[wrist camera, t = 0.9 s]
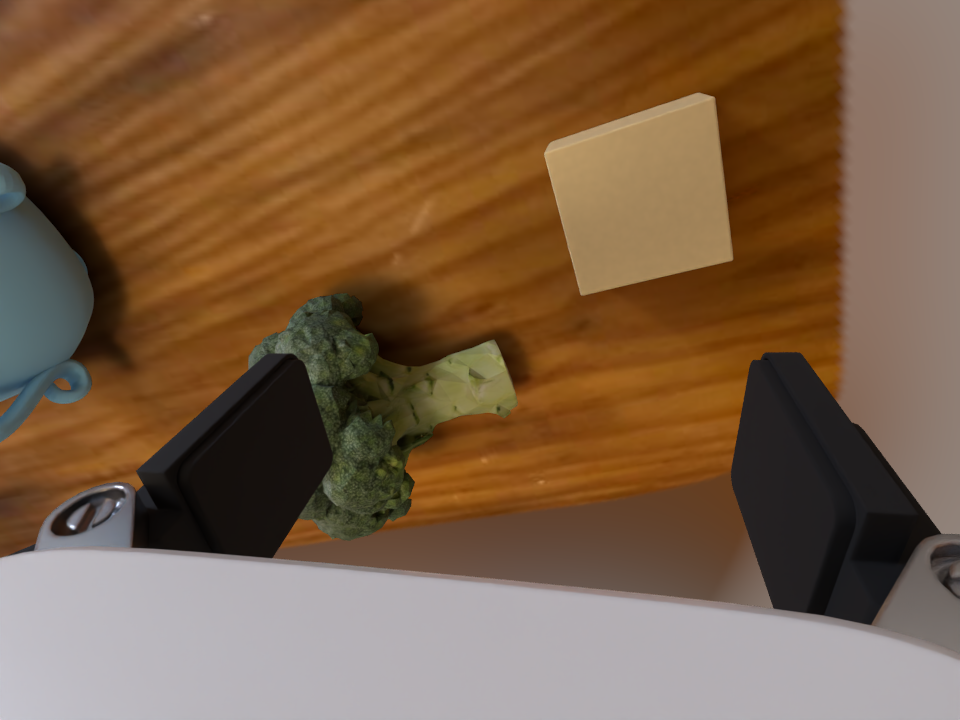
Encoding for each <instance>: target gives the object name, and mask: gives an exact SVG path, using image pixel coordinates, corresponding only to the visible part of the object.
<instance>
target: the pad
mask: <svg viewBox="0 0 960 720" xmlns="http://www.w3.org/2000/svg"><path fill="white" fill-rule="evenodd" d="M544 156H545V160H546V164H547V167H548V171H549V175H550V179H551V183H552V187H553V191H554V194H555V198H556V202H557V206H558V210H559V214H560V217H561V221H562V225H563V229H564V233H565V237H566V240H567V244H568V248H569V252H570V256H571V260H572V263H573V267H574V271H575V275H576V279H577V283H578V286H579V290H580V294H581V295H587V294H592V293H596V292H600V291H604V290H609V289H613V288H617V287H622V286H626V285H630V284H634V283H639V282H643V281H647V280H652V279H656V278H660V277H664V276H669V275H673V274H677V273H682V272H686V271H690V270H694V269H699V268H703V267H707V266H712V265H716V264H720V263H724V262H729V261H732V260H733V250H732V241H731V232H730V224H729V215H728V206H727V197H726V188H725V180H724V171H723V162H722V153H721V145H720V136H719V127H718V118H717V110H716V101H715V97H712V96H709V95H705V94H702V93H695V94H692V95H689V96H686V97H683V98H680V99H678V100H675V101H672V102H669V103H666V104H663V105H660V106H657V107H654V108H651V109H648V110H645V111H642V112H639V113H636V114H633V115H630V116H627V117H624V118H621V119H618V120H615V121H612V122H609V123H606V124H603V125H600V126H597V127H594V128H591V129H588V130H585V131H582V132H579V133H576V134H573V135H570V136H567V137H564V138H561V139H558V140H555V141H552V142H550V143H549V145H548V147H547V149H546V151H545V153H544Z"/></svg>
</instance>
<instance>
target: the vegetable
mask: <svg viewBox="0 0 960 720" xmlns="http://www.w3.org/2000/svg"><path fill="white" fill-rule="evenodd" d="M362 311H363V307H362V302H361V301H359V300H358V299H357V298H356V297H355V296H352V297H350V296H349V295H348V294H347V293H343V294H335V295H331V296H320V297H317V298H314V299H310V300H308V302H307V303H306V304H305V305H303V306H302V307H300V308H299V309H298V310H297V311H296V313H295V314H294V315H293V316H292V318H291V319H290V321H289V324H288V326H287V328H286V329H285V331H282V332H281V333H279V334H278V333H277V332H276V333H274V334H272V335H270V336H268V337H266V338H264V339H263V341H262V343H261V344H260V345H257V346H255V348H254V349H253V351H252V353H251V354H250V355H249V369H250V368H251V367H252V366H253V365H255V364H256V363H257V362H258V361H259V360H260V359H261V358H262V357H263V356H265V355H266V354H270V353H292V354H294V355H296V356H297V358H298V359H299V360H302V361H303V362H304V364H305V366H306V369H307V372H308V375H309V378H310V382H311V385H312V388H313V391H314V394H315V398H316V401H317V404H318V407H319V410H320V414H321V417H322V420H323V423H324V427H325V430H326V433H327V436H328V439H329V443H330V446H331V449H332V453H333V460H332V465H331V467H330V469H329V471H328V472H327V474H326V475H325V477H324V478H323V480H322V481H321V483H320V485H319V486H318V488H317V489H316V491H315V492H314V494H313V495H312V497H311V499H310V500H309V502H308V503H307V505H306V506H305V508H304V510H303V511H302V513H301V514H300V516H299V517H298V518H300V519H304V520H311V519H312V520H313V521H314V522H315V523H316V524H317V525H318V528H319V529H320V530H322V531H323V532H324V533H326V534H328V535H329V536H330V537H331V538H332V539H334V538H340V539H342V540H348V541H350V540H353V539H355V538H359V537H364V536H368V535H370V534H372V533H374V532H375V531H377V530H379V529H380V528H382V527H383V525H384V524H385V522H386V521H387V519H390V520H391V521H394V520H396V519H397V518H399V517H402V516H405V515H406V514H407V512H408V510H409V509H410V507H411V500H412V499H408V498H409V497H410V495H411V492H412V489H413V486H414V483H415V482H414V480H413V479H412V478H411V476H410V475H409V474H408V473H406V470H405V469H404V468H405V466H406V463H407V460H408V457H409V453H410V451H411V450H412V449H413V448H415V447H418V446H420V445H422V444H424V443H425V442H426V441H427V440H428V439H429V438H431V437H432V436H433V434H432V432H433V430H434V427H435V426H436V425H437V424H438V423H441V422H444V421H447V420H450V419H453V418H456V417H459V416H461V415H472V414H481V413H487V412H489V413H494V414H498V415H500V416H501V417H503V418H505V417H506V416H508V415H509V414H510V413H511V412H510V410H511V409H513V408H514V407H516V406H517V404H518V402H517V398H516V394H515V390H514V386H513V382H512V379H511V376H510V373H509V371H508V368H507V365H506V363H505V361H504V359H503V357H502V354H501V352H500V350H499V348H498V346H497V344H496V342H495V340H491V341H487V342H485V343H483V344H480V345H478V346H476V347H474V348H470V349H467V350H464V351H461V352H457V353H454V354H451V355H448V356H446V357H444V358H443V359H441V360H439V361H436V362H433V363H430V364H427V365H424V366H421V367H413V366H404V365H400V364H396V363H393V362H390V361H387V360H385V359H382V358H381V357H380V356H378V351H379V347H378V343H377V341H376V339H375V337H374V336H373V334H372V333H370V334H366V335H363V334H361V333H360V331H359V330H356V328H355V326H358V325H359V323H360V322H361V320H362V318H363V315H362ZM422 436H423V437H422Z"/></svg>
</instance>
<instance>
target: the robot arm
mask: <svg viewBox="0 0 960 720" xmlns="http://www.w3.org/2000/svg"><path fill="white" fill-rule="evenodd" d="M332 460H333V453H332V449H331V446H330V443H329V439H328V436H327V433H326V430H325V427H324V423H323V420H322V417H321V414H320V410H319V407H318V404H317V401H316V398H315V394H314V391H313V388H312V385H311V382H310V378H309V375H308V372H307V369H306V366H305V364H304V362H303V361H302V360H299V359H298V358H297V356H296V355H294V354H292V353H270V354H266V355H265V356H263V357H262V358H261V359H260V360H259V361H258V362H257V363H256V364H255V365H253V366H252V367H251V368H250V369H249V370H248V371H247V372H246V373H245V374H243V375H242V376H241V377H240V378H239V379H238V380H237V381H236V382H234V383H233V384H232V385H231V386H230V387H229V388H228V389H227V390H226V391H224V392H223V393H222V394H221V395H220V396H219V397H218V398H217V399H216V400H214V401H213V402H212V403H211V404H210V405H209V406H208V407H207V408H206V409H204V410H203V411H202V412H201V413H200V414H199V415H198V416H197V417H196V418H194V419H193V420H192V421H191V422H190V423H189V424H188V425H187V426H186V427H184V428H183V429H182V430H181V431H180V432H179V433H178V434H177V435H176V436H174V437H173V438H172V439H171V440H170V441H169V442H168V443H167V444H166V445H164V446H163V447H162V448H161V449H160V450H159V451H158V452H157V453H156V454H154V455H153V456H152V457H151V458H150V459H149V460H148V461H147V462H145V463H144V464H143V465H142V466H141V467H140V468H139V469H138V470H137V471H136V472H137V474H138V475H139V477H140V479H141V481H142V483H143V484H144V485H143V486H142V487H141V488H140V489H139V490H138V491H137V492H136V490H135V488H134V487H133V486H131V485H130V484H129V483H123V482H114V483H106V484H103V485H99V486H96V487H93V488H91V489H88V490H86V491H84V492H81V493H79V494H77V495H76V496H74V497H72V498H70V499H69V500H67V501H65V502H64V503H63V504H62V505H60V506H59V507H58V508H56V509H55V510H54V511H53V512H52V513H51V514H50V515H49V516H48V517H47V518H46V519H45V521H44V523H43V525H42V527H41V529H40V531H39V535H38V538H37V542H36V544H34V545H32V546H30V547H27V548H25V549H22V550H20V551H18V552H15V553H13V554H11V555H8V556H6V557H2V558H0V720H960V534H941V533H940V531H939V530H938V529H937V527H936V526H935V525H934V523H933V522H932V521H931V519H930V518H929V517H928V515H927V514H926V513H925V511H924V510H923V509H922V507H921V506H920V505H919V503H918V502H917V501H916V499H915V498H914V497H913V495H912V494H911V493H910V491H909V490H908V489H907V487H906V486H905V485H904V483H903V482H902V480H901V479H900V478H899V477H898V475H897V474H896V472H895V471H894V470H893V468H892V467H891V466H890V465H889V463H888V462H887V461H886V459H885V458H884V457H883V455H882V454H881V452H880V451H879V450H878V448H877V447H876V446H875V444H874V443H873V442H872V440H871V439H870V438H869V436H868V435H867V434H866V433H865V431H864V430H863V429H862V428H861V427H860V426H859V425H857V424H854V423H852V422H851V421H850V420H849V418H848V417H847V416H846V414H845V413H844V411H843V410H842V409H841V407H840V406H839V404H838V403H837V402H836V400H835V399H834V398H833V396H832V395H831V394H830V392H829V391H828V389H827V388H826V387H825V385H824V384H823V383H822V381H821V380H820V378H819V377H818V376H817V374H816V373H815V372H814V370H813V369H812V368H811V366H810V365H809V363H808V362H807V361H806V359H805V358H804V357H803V355H802V354H801V353H797V352H781V353H764V354H763V356H762V358H761V360H753V361H752V362H751V364H750V368H749V374H748V379H747V385H746V391H745V396H744V402H743V407H742V413H741V418H740V424H739V430H738V435H737V441H736V446H735V452H734V458H733V463H732V469H731V478H732V479H731V480H732V486H733V490H734V493H735V496H736V498H737V501H738V505H739V507H740V510H741V513H742V516H743V519H744V522H745V525H746V528H747V531H748V534H749V537H750V540H751V543H752V546H753V549H754V552H755V555H756V558H757V561H758V564H759V566H760V570H761V572H762V576H763V578H764V581H765V584H766V587H767V590H768V593H769V596H770V599H771V602H772V605H773V608H774V609H773V608H766V607H758V606H751V605H742V604H734V603H726V602H716V601H708V600H698V599H689V598H680V597H671V596H662V595H654V594H644V593H634V592H623V591H614V590H603V589H593V588H583V587H573V586H563V585H553V584H543V583H542V584H541V583H532V582H522V581H511V580H502V579H492V578H481V577H471V576H460V575H449V574H439V573H427V572H417V571H407V570H406V571H405V570H395V569H385V568H373V567H363V566H352V565H341V564H330V563H319V562H307V561H295V560H285V559H273V556H274V555H275V553H276V552H277V550H278V549H279V547H280V545H281V544H282V542H283V541H284V539H285V538H286V536H287V534H288V533H289V531H290V530H291V528H292V527H293V525H294V524H295V522H296V520H297V519H298V517H299V516H300V514H301V513H302V511H303V510H304V508H305V506H306V505H307V503H308V502H309V500H310V499H311V497H312V495H313V494H314V492H315V491H316V489H317V488H318V486H319V485H320V483H321V481H322V480H323V478H324V477H325V475H326V474H327V472H328V471H329V469H330V467H331V465H332Z"/></svg>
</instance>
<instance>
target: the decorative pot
mask: <svg viewBox="0 0 960 720" xmlns="http://www.w3.org/2000/svg"><path fill="white" fill-rule="evenodd" d="M93 305H94V294H93V289H92V285H91V282H90V279H89V277H88V271H87V267H86V265H85V263H84V261H83V259H82V258H81V257H80V256H79V255H78V254H77V253H76V252H75V251H74V250H72V249H71V248H70V246H69V245H68V244H67V242H66V241H65V239H64V238H63V237H62V236H61V234H60V233H59V232H58V231H57V229H56V228H55V227H54V226H53V224H52V223H51V222H50V221H49V220H48V219H47V218H46V217H45V215H44V214H43V213H42V212H41V211H40V210H39V209H38V208H37V207H36V206H35V205H34V204H33V203H32V202H31V201H30V200H29V199H28V198H27V197H26V188H25V184H24V182H23V180H22V179H21V177H20V175H19V174H18V172H16V171H15V170H14V169H12V168H10V167H9V166H7V165H5V164H2V163H0V401H3V400H5V399H8V398H10V397H13V396H15V395H17V394H19V396H18V397H17V398H16V400H15V401H14V402H13V404H12V405H11V406H10V408H9V409H8V410H7V411H6V412H5V413H4V414H3V415H2V416H1V417H0V442H2V441H3V440H4V439H6V438H7V437H9V436H10V435H11V434H12V433H13V432H15V431H16V430H17V429H18V428H19V426H20V425H21V424H22V423H23V422H24V421H25V420H26V419H27V417H28V416H29V415H30V413H31V412H32V411H33V409H34V408H35V407H36V405H37V404H38V402H39V401H40V399H41V398H42V396H43V395H45V396H46V397H47V398H48V399H49V400H50V401H53V402H55V403H60V404H65V403H72V402H75V401H78V400H80V399H82V398H83V397H84V396H85V395H87V394H88V392H89V391H90V389H91V385H92V380H91V376H90V374H89V372H88V370H87V368H86V367H85V366H84V365H83V364H81V363H80V362H78V361H76V360H73V359H70V357H71V356H72V355H73V353H74V352H75V350H76V349H77V347H78V345H79V343H80V342H81V340H82V338H83V336H84V333H85V331H86V328H87V326H88V323H89V320H90V317H91V314H92V310H93ZM58 378H64V379H66V380H67V381H68V382H69V383H70V386H71V390H61V389H60V388H58V387H57V386H56V385H55V384H54V383H53V382H54V381H55V380H56V379H58Z"/></svg>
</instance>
